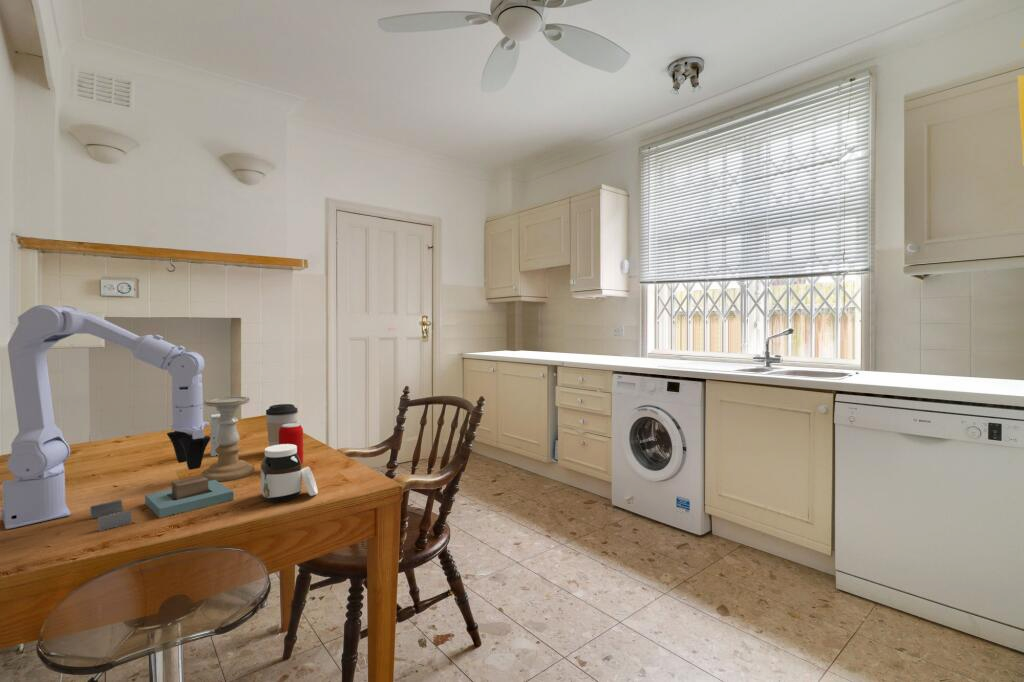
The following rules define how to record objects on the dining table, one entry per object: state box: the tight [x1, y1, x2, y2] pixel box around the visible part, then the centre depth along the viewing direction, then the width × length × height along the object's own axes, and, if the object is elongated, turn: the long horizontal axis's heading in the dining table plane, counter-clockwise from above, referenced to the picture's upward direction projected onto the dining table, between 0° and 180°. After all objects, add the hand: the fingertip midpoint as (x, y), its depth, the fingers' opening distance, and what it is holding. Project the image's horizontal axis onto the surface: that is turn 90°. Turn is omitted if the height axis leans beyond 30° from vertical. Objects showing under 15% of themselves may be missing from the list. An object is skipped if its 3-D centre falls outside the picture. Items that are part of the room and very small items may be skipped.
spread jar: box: [260, 444, 319, 503], centre depth 114 cm, size 12×11×12 cm
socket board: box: [144, 480, 234, 519], centre depth 110 cm, size 14×12×2 cm
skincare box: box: [210, 413, 220, 457], centre depth 149 cm, size 6×4×12 cm
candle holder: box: [200, 395, 255, 482], centre depth 129 cm, size 12×12×20 cm
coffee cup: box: [265, 403, 299, 447], centre depth 151 cm, size 9×9×15 cm
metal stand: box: [89, 499, 132, 532], centre depth 99 cm, size 5×10×2 cm, turn 49°
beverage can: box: [279, 422, 304, 466], centre depth 136 cm, size 6×6×12 cm
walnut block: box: [171, 475, 208, 501], centre depth 110 cm, size 4×6×5 cm, turn 139°
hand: (188, 465), depth 109 cm, fingers open, 7 cm apart
